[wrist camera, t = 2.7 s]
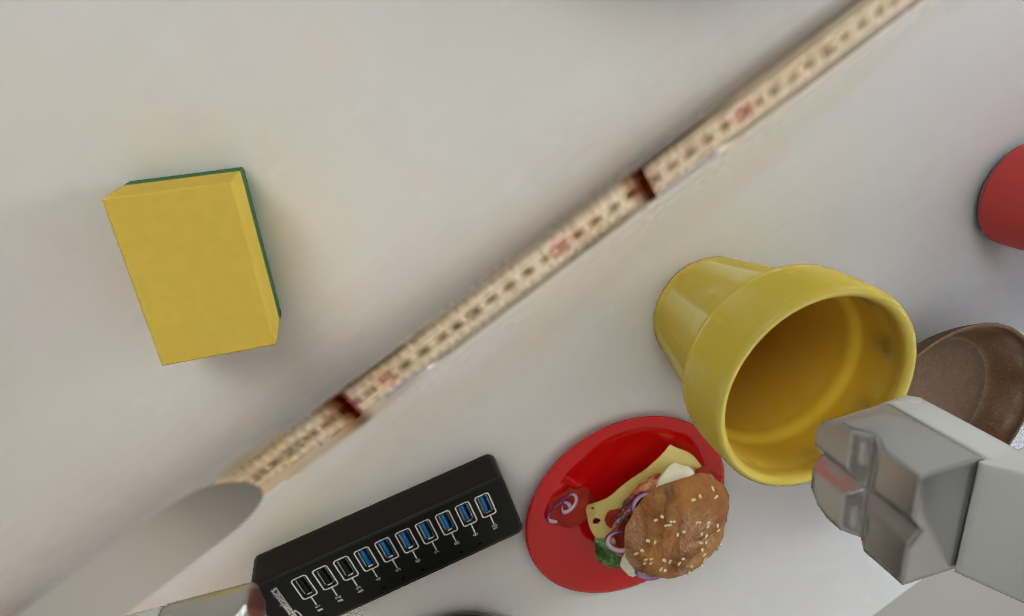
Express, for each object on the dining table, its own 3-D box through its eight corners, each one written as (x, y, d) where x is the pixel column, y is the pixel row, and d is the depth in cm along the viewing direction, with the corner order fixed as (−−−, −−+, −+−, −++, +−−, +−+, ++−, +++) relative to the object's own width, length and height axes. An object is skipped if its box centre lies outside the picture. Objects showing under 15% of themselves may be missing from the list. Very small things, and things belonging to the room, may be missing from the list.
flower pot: (642, 415, 37) (737, 524, 29) (602, 268, 33) (701, 345, 24) (787, 348, 39) (921, 434, 30) (768, 197, 34) (919, 247, 25)
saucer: (968, 266, 40) (1009, 279, 38) (1022, 393, 47) (1060, 412, 44) (798, 415, 41) (827, 437, 39) (875, 519, 48) (904, 544, 45)
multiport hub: (514, 505, 37) (524, 531, 35) (287, 608, 36) (285, 642, 34) (491, 451, 35) (502, 476, 33) (251, 558, 34) (246, 591, 32)
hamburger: (667, 371, 37) (725, 425, 31) (749, 502, 43) (809, 565, 38) (481, 509, 37) (507, 586, 31) (590, 619, 43) (627, 699, 38)
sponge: (129, 181, 25) (100, 199, 22) (243, 166, 26) (231, 181, 23) (180, 331, 28) (162, 366, 25) (281, 313, 29) (275, 345, 26)
